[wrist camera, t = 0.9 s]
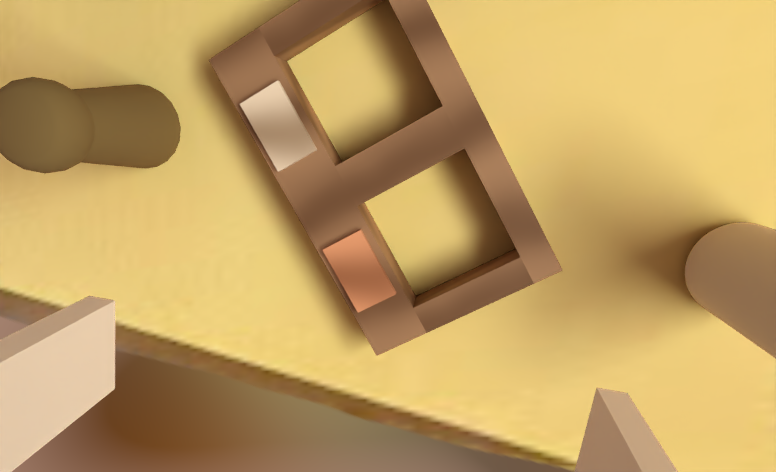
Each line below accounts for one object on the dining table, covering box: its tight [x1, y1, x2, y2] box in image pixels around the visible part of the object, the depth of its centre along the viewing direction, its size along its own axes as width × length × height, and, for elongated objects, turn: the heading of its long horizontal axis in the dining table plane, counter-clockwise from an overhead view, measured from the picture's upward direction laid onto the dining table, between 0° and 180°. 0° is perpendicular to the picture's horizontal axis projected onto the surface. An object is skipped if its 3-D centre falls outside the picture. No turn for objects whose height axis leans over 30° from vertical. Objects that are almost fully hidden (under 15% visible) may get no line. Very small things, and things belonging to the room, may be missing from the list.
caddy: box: [209, 0, 562, 355], centre depth 34 cm, size 23×14×3 cm, turn 29°
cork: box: [0, 77, 180, 173], centre depth 32 cm, size 6×6×11 cm
